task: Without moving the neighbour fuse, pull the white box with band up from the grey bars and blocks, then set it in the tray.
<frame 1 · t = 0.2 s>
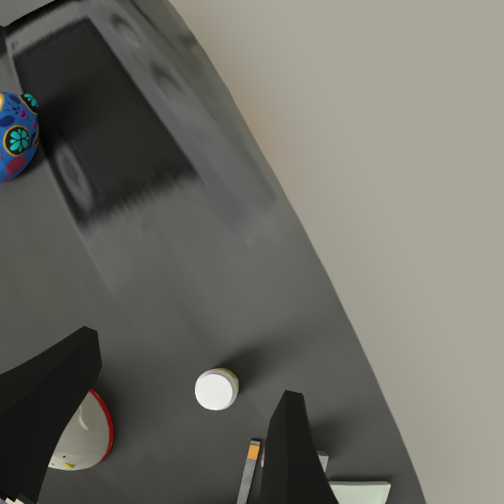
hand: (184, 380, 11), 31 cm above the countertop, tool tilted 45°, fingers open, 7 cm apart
kitchen timer: (73, 422, 37), on the countertop
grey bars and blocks: (284, 487, 34), on the countertop
ceramic pot: (19, 160, 52), on the countertop
supplement bottle: (220, 385, 39), on the countertop
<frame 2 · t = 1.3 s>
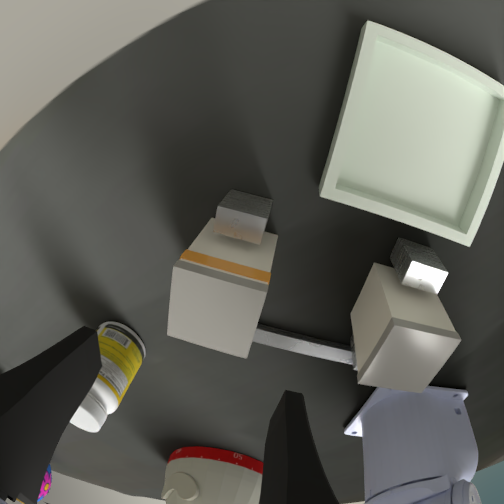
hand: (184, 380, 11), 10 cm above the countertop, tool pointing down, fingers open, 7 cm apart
kitchen timer: (223, 470, 34), on the countertop
tray: (421, 135, 15), on the countertop
white box with band: (237, 255, 20), on the countertop
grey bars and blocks: (317, 277, 20), on the countertop
ceramic pot: (30, 442, 50), on the countertop
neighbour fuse: (389, 296, 19), on the countertop
supplement bottle: (123, 340, 25), on the countertop
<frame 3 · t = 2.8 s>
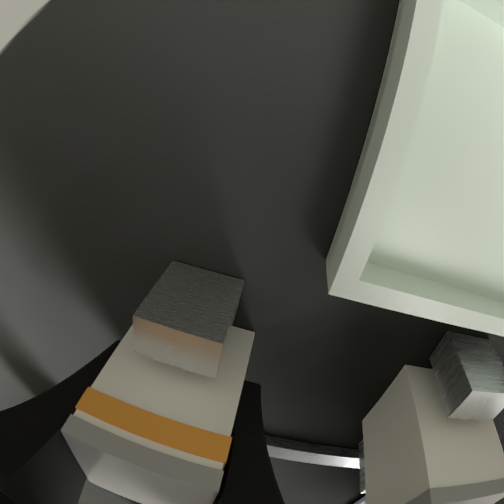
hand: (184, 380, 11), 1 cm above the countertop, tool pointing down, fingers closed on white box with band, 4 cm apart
white box with band: (194, 354, 12), on the countertop, touching gripper
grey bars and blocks: (317, 385, 12), on the countertop
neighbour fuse: (419, 400, 12), on the countertop
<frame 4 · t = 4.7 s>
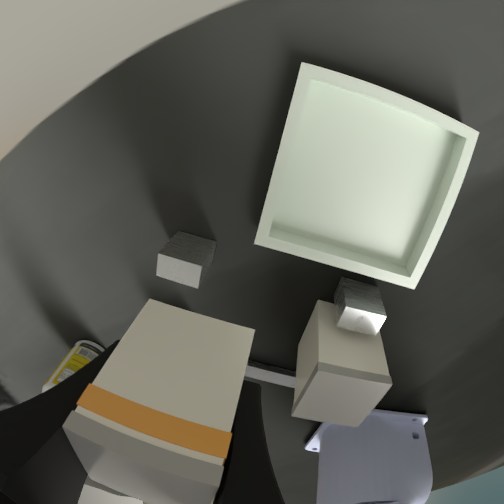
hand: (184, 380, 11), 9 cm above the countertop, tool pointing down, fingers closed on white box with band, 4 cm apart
tray: (364, 176, 16), on the countertop
white box with band: (195, 351, 12), point 8 cm above the countertop, touching gripper
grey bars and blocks: (263, 312, 21), on the countertop
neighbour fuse: (336, 330, 21), on the countertop
supplement bottle: (97, 356, 26), on the countertop
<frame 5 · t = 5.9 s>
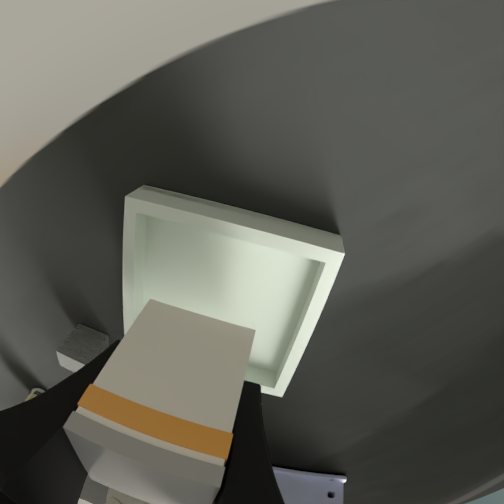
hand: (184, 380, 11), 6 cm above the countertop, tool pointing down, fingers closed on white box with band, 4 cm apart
kitchen timer: (156, 497, 36), on the countertop
tray: (221, 292, 16), on the countertop
white box with band: (195, 351, 12), point 4 cm above the countertop, touching gripper
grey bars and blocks: (159, 390, 21), on the countertop
when the fingers open (3 cm above the countertop, at t = 6.8 s): white box with band drops 1 cm, resting on tray.
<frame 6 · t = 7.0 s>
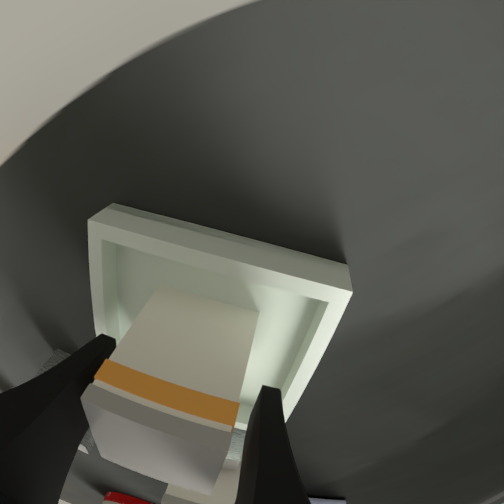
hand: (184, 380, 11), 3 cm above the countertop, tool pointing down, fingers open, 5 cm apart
tray: (206, 326, 14), on the countertop
white box with band: (202, 335, 13), point 1 cm above the countertop, touching tray
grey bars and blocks: (146, 419, 19), on the countertop
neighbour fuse: (219, 441, 18), on the countertop
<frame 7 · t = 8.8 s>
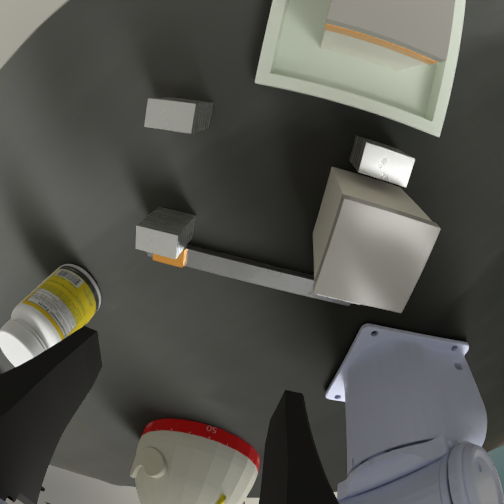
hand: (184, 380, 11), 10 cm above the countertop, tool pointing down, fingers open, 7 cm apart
kitchen timer: (200, 449, 32), on the countertop
tray: (365, 26, 13), on the countertop
white box with band: (366, 24, 12), point 1 cm above the countertop, touching tray
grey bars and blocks: (268, 187, 18), on the countertop
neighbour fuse: (356, 210, 17), on the countertop
supplement bottle: (80, 286, 23), on the countertop
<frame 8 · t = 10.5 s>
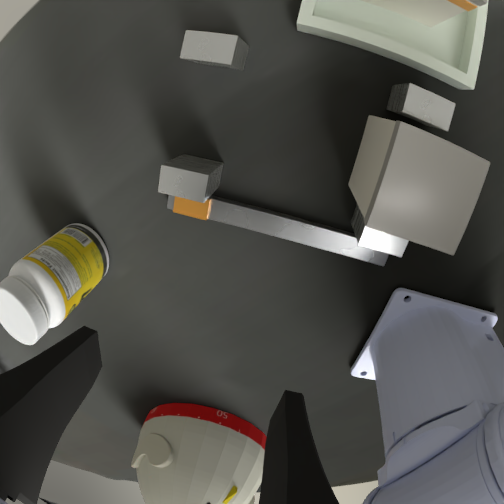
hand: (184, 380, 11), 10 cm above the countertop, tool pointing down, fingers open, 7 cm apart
kitchen timer: (207, 438, 31), on the countertop
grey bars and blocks: (304, 133, 16), on the countertop
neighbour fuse: (392, 161, 16), on the countertop
supplement bottle: (86, 250, 22), on the countertop
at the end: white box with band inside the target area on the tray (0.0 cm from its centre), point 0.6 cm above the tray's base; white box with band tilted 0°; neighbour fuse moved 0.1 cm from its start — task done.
